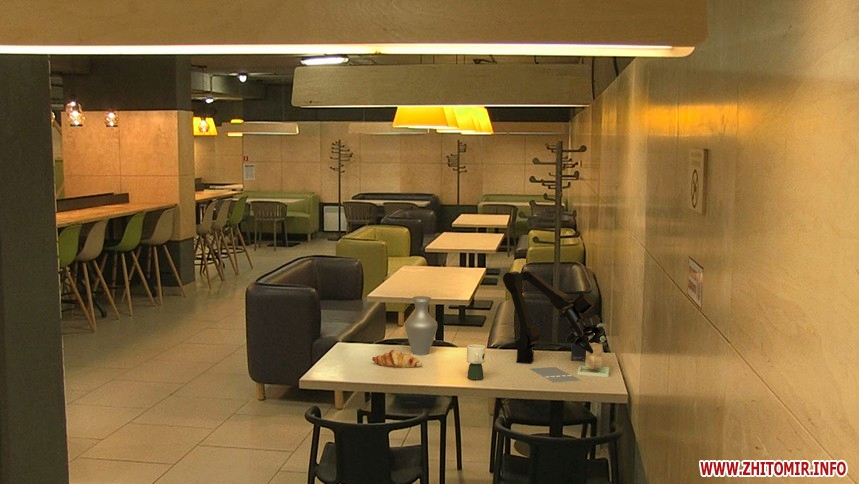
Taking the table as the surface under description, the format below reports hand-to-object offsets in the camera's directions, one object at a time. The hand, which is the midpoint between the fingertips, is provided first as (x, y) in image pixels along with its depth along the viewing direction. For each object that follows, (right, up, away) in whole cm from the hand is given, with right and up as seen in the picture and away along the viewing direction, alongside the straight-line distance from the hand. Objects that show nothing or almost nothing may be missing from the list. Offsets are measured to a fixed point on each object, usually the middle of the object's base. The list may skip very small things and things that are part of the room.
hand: (596, 352), depth 337 cm
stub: (-1, -6, +2) cm, 6 cm away
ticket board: (-17, -10, -3) cm, 20 cm away
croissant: (-80, -8, +11) cm, 81 cm away
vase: (-71, -5, +35) cm, 79 cm away
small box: (-2, -7, +32) cm, 33 cm away
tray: (-1, -10, +2) cm, 10 cm away
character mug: (-49, -10, -7) cm, 51 cm away
